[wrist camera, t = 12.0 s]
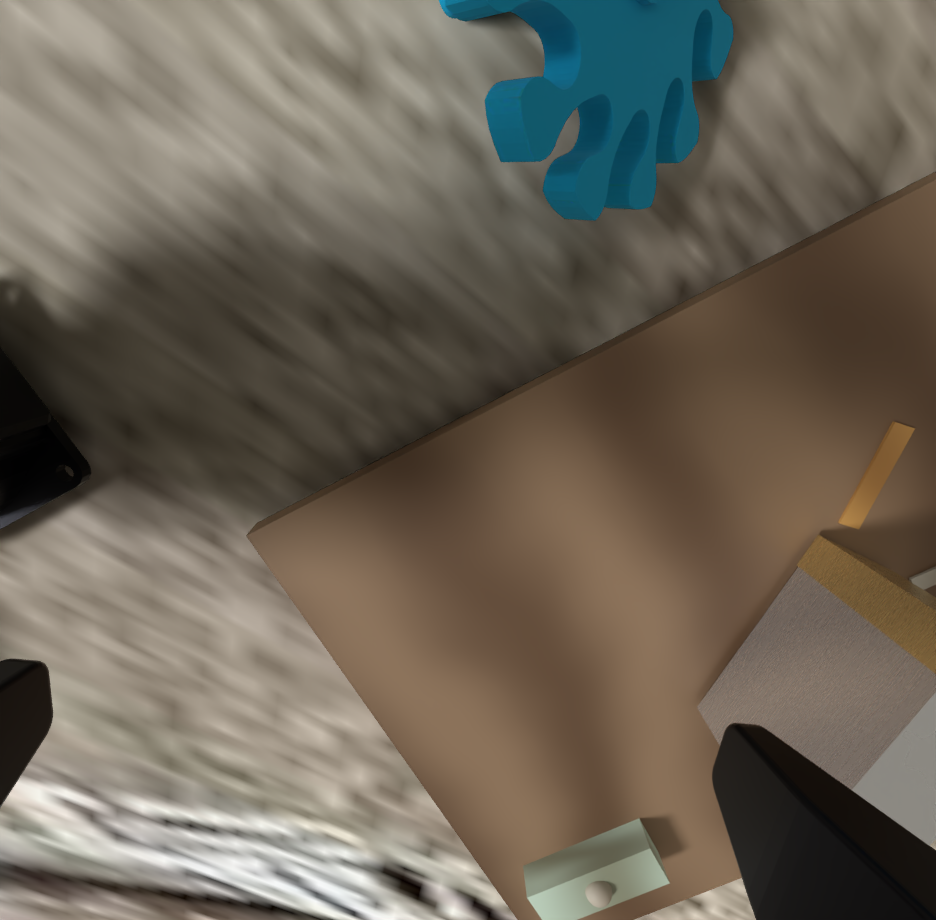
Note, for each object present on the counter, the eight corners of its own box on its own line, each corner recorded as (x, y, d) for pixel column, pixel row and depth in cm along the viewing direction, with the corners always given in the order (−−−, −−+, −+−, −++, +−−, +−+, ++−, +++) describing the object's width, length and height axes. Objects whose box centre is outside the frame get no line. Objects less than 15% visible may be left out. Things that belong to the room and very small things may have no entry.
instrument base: (538, 928, 24) (549, 1005, 21) (257, 523, 18) (224, 560, 16) (1088, 712, 21) (1176, 769, 19) (968, 155, 15) (1071, 126, 13)
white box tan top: (766, 735, 20) (883, 899, 14) (695, 705, 19) (789, 864, 14) (893, 571, 18) (1082, 689, 13) (818, 534, 17) (981, 640, 12)
